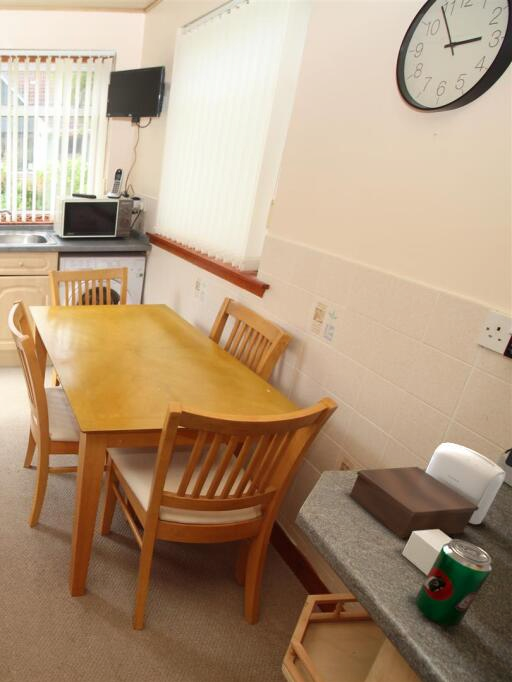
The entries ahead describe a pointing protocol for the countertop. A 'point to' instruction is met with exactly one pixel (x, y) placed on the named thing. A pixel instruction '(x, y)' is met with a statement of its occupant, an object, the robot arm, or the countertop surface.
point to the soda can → (453, 582)
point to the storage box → (411, 501)
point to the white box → (425, 548)
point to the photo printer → (467, 476)
